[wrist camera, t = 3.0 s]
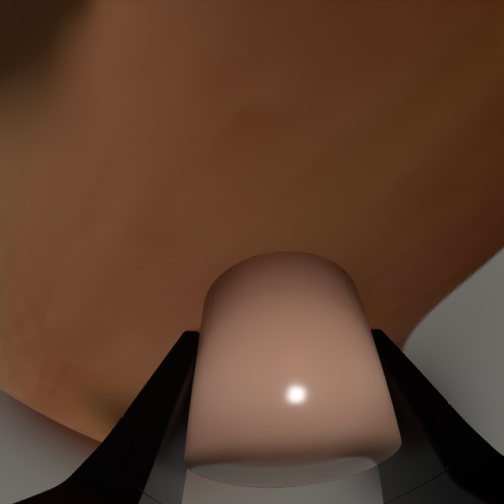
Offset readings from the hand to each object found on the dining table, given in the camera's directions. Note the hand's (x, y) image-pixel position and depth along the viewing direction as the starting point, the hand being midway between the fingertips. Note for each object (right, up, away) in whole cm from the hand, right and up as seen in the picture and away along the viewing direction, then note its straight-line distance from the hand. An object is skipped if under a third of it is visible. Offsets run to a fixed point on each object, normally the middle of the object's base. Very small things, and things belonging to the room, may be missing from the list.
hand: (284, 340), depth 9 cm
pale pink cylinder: (0, +1, +1) cm, 1 cm away
